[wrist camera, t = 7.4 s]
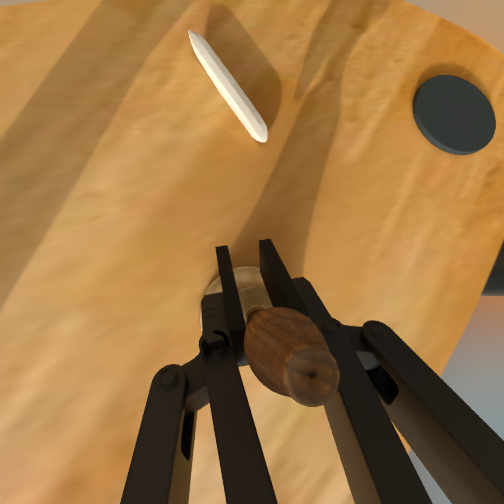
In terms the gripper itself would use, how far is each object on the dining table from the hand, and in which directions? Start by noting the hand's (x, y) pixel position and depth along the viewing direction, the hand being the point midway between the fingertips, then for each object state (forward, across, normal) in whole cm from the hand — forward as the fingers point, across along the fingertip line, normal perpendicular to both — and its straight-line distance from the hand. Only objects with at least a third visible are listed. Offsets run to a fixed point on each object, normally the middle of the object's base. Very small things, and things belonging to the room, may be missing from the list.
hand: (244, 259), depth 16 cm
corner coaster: (+14, -28, -6) cm, 31 cm away
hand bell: (+1, 0, +7) cm, 7 cm away
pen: (+17, -2, -9) cm, 19 cm away
